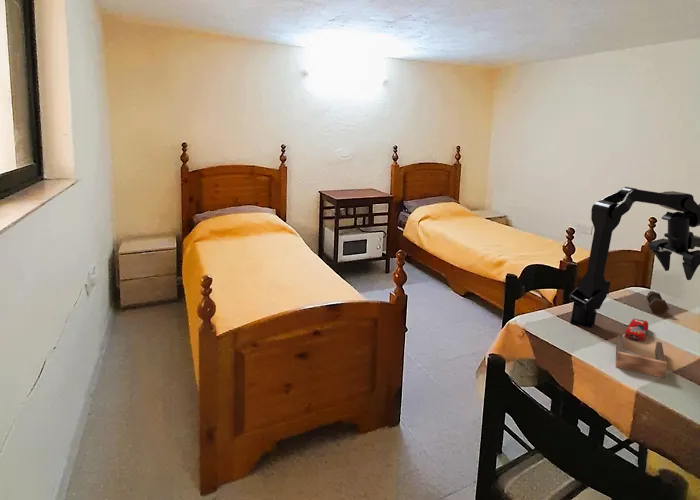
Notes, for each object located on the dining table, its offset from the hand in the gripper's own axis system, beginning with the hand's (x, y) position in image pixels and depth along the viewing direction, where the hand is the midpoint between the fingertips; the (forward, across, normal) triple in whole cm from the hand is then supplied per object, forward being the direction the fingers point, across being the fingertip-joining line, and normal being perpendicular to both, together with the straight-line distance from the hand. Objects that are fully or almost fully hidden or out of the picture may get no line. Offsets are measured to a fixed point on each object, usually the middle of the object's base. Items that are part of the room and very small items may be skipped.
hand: (677, 275), depth 153 cm
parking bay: (+7, -26, +34) cm, 44 cm away
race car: (+10, -12, +23) cm, 28 cm away
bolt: (+16, +9, +1) cm, 18 cm away
